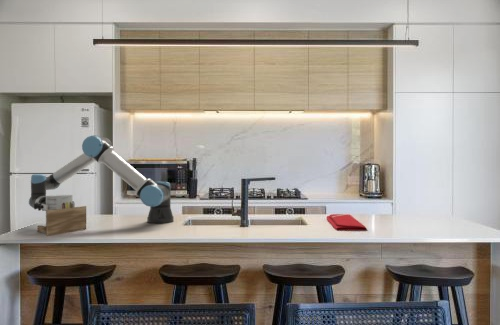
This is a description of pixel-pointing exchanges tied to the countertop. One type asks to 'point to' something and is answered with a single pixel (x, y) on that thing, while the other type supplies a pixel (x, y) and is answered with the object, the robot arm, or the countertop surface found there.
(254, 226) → the countertop surface
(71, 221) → the box
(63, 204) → the supplement box
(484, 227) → the countertop surface
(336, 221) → the dish drying mat
